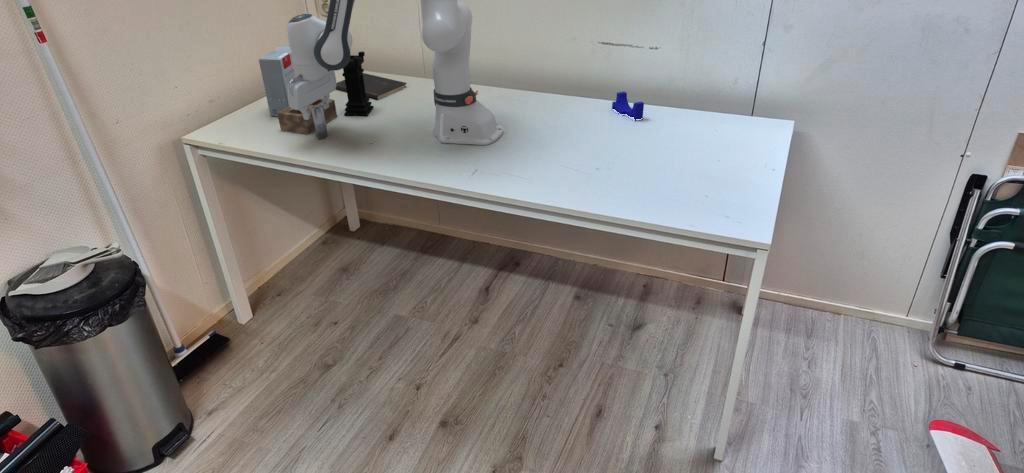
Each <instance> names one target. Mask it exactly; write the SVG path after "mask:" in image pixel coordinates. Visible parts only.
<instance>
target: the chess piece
mask: <svg viewBox="0 0 1024 473" xmlns="http://www.w3.org/2000/svg"><path fill="white" fill-rule="evenodd" d="M357 54H358V55H357ZM357 54H356V55H355V54H353V55H351V54H350V60H349V63H348V64H347V65H346V66H345V67H344V68H343V69H342V71H343V72H342V73H341V74H342V77H344V78H343V79H344V80H345V84H346V90H347V93H346V94H347V96H346V97H347V102H346V103H345V108H344V111H345V112H344V114H343V116H344V117H361V118H362V117H365V118H366V117H369V115H370V113H371V112H372V111H373V110H374V107H375V106H374V105H372V104H373V103H372V101H370V100H371V99H370V98H366V93H365V86H364V79H363V73H365V70H364V69H365V68H363V67H362V64H363V63H364V62H365V58H364V57H365V56H366V55H365V51H358V53H357Z"/></svg>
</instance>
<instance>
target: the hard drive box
mask: <svg viewBox="0 0 1024 473" xmlns="http://www.w3.org/2000/svg"><path fill="white" fill-rule="evenodd" d="M292 58H293V55H292V51H291V49H290V46H284V45H283V46H282V45H281V46H278V47H276V48H274V49H273V50H271V51H270V52H268V53H267V54H265V55H263V56H261V57H260V58H258V63H259V67H260V73H261V78H262V81H263V87H264V92H265V97H266V101H267V106H268V110H269V115H270V116H271V117H278V114H277V113H278V112H280V111H282V110H283V109H285V108H287V107H289V102H288V85H289V83H290V80H291V79H293V78H295V73H294V68H293V62H292Z"/></svg>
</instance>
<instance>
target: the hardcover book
mask: <svg viewBox="0 0 1024 473" xmlns="http://www.w3.org/2000/svg"><path fill="white" fill-rule="evenodd" d="M363 79H364V86H365V93H366V98H369V99H370V100H374V101H379V100H380V99H383V98H385V97H388V96H390V95H393V94H394V93H397V92H399V91H401V90H403V88H404V89H406V87H407V86H406V85H407V82H405V81H400V80H396V79H391V78H387V77H383V76H377V75H374V74H370V73H369V74H368V73H365V72H363ZM336 83H337V86H336V90H335V91H339V92H343V93H346V94H347V90H346V84H345V79H343V80H340V81H337V82H336Z"/></svg>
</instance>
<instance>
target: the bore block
mask: <svg viewBox="0 0 1024 473" xmlns="http://www.w3.org/2000/svg"><path fill="white" fill-rule="evenodd" d="M322 100H323V97H322V98H321V99H319V100H317V101H315V102H314V103H312V104H310V105H309V106H307V108H308V109H307V112H308V113H310V114H311V118H310V119H308V120H305V119H304V118H303V114H302V113H301V111H300V110H294V109H291V108H290V107H287V108H285V109H283V110H282V111H280V112H278V113H277V114H278V116H277V119H278V123H279V127H280V131H284V132H290V133H295V134H296V133H297V134H303V135H311V134H312V133H314V132H316V131H315V126H314V121H313V116H312V111H311V107H312V106H314V105H321V103H322ZM328 105H329V107H328V108H327V109H323V110H324V116H325V121H326V124H328V123H330V122H331V121H332V120H334V119H336V118H338V113H337V112H338V111H337V108H336V102H335V99H333V98H332V99H331V98H329V102H328Z"/></svg>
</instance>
